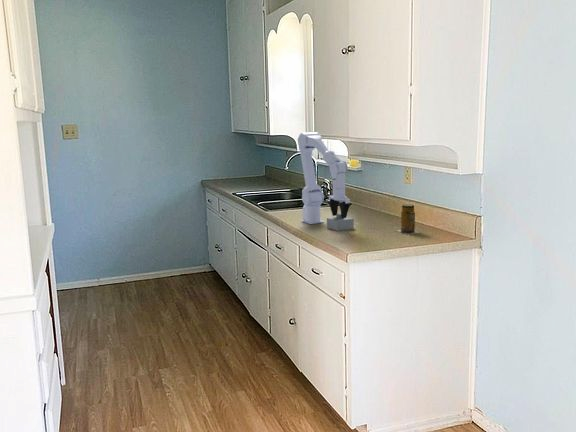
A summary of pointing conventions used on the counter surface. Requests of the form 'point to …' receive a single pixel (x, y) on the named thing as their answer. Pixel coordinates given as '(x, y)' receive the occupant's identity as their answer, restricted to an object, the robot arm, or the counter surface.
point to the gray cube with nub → (340, 223)
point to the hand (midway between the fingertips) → (339, 216)
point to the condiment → (408, 219)
